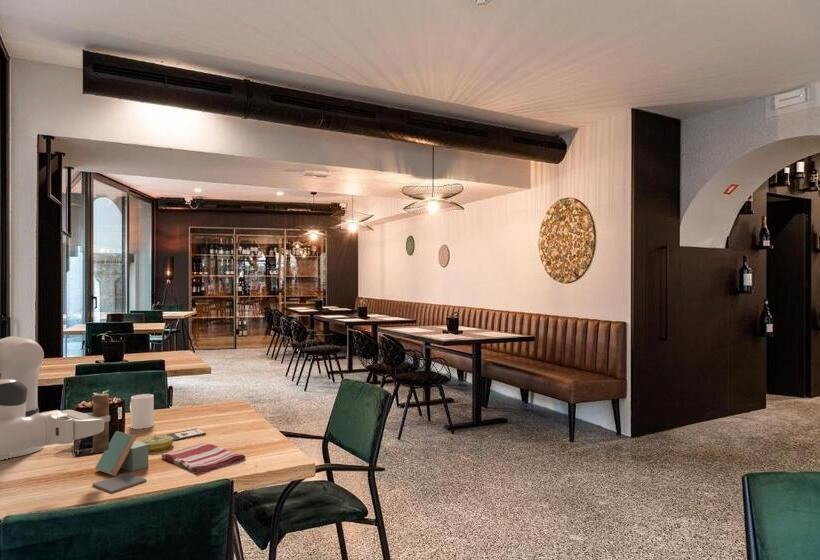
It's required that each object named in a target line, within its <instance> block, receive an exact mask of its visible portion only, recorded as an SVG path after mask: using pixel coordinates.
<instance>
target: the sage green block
mask: <svg viewBox="0 0 820 560" xmlns="http://www.w3.org/2000/svg"><path fill="white" fill-rule="evenodd" d="M148 467H149V452H148V444H145V443H142V442H141V441H138V440H135V441H134V443H133V445H132V447H131V449H130V451H129V452H128V454H127V456H126V458H125V460H124V462H123V463H122V465H121V467H120V469H124V470H127V471H129V472H136V471H140V470H143V469H145V468H148Z"/></svg>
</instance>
